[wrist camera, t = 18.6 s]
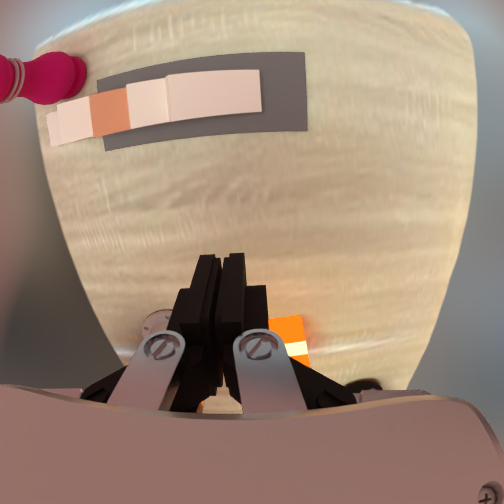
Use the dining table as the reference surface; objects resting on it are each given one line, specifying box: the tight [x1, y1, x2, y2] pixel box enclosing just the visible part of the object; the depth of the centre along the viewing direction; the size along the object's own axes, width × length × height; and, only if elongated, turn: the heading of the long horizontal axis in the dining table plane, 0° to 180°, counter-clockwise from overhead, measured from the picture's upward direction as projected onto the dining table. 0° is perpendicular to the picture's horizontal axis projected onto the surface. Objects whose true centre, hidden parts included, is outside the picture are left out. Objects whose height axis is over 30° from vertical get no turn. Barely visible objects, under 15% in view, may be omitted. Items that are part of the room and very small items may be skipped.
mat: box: [97, 52, 307, 151], centre depth 30 cm, size 10×26×1 cm, turn 93°
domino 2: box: [57, 96, 93, 145], centre depth 28 cm, size 2×5×10 cm
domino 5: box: [165, 70, 262, 122], centre depth 27 cm, size 2×5×10 cm
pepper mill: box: [0, 52, 86, 105], centre depth 19 cm, size 7×7×20 cm
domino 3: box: [89, 87, 167, 138], centre depth 28 cm, size 2×5×10 cm
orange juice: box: [268, 315, 310, 368], centre depth 40 cm, size 8×9×20 cm
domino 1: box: [47, 111, 62, 148], centre depth 30 cm, size 2×5×10 cm
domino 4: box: [126, 78, 169, 129], centre depth 28 cm, size 2×5×10 cm
